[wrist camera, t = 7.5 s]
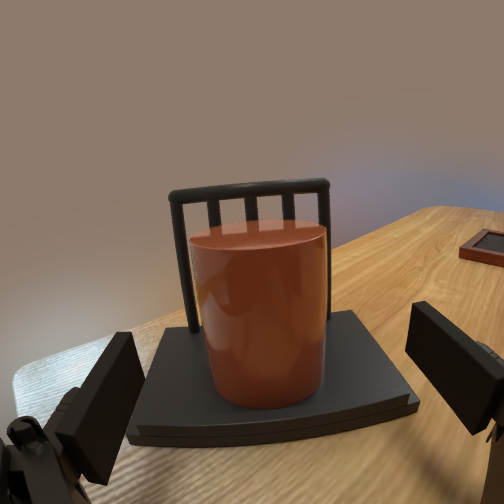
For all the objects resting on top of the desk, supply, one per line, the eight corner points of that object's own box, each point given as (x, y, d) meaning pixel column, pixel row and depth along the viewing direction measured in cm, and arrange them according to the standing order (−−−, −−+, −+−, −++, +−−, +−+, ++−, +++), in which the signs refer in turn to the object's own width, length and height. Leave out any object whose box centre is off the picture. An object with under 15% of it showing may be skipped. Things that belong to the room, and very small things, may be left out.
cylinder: (208, 413, 17) (178, 256, 14) (214, 346, 25) (197, 225, 22) (338, 399, 17) (346, 240, 15) (311, 337, 25) (309, 216, 22)
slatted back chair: (129, 444, 15) (56, 220, 12) (167, 336, 29) (143, 193, 25) (417, 411, 16) (452, 188, 12) (351, 318, 29) (352, 176, 26)
